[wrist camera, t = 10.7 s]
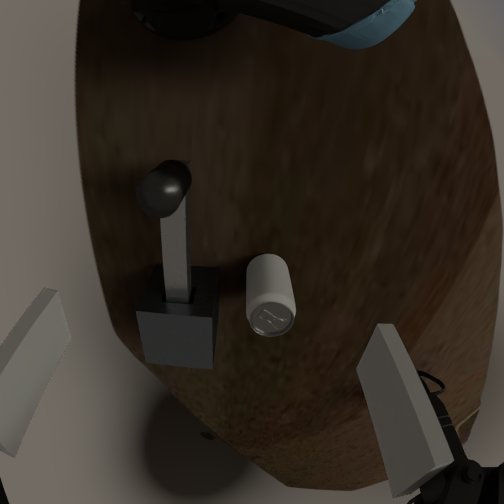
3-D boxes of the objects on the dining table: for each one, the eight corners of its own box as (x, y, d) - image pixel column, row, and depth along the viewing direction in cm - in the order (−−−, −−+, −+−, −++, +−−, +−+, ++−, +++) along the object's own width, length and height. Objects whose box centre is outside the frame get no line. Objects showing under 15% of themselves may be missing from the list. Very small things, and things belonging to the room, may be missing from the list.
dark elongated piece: (159, 154, 35) (134, 173, 27) (196, 154, 35) (180, 174, 27) (170, 326, 47) (158, 369, 39) (197, 328, 47) (190, 372, 40)
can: (270, 293, 52) (276, 345, 41) (238, 274, 50) (235, 325, 39) (296, 266, 49) (308, 315, 39) (262, 244, 47) (267, 291, 37)
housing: (157, 263, 49) (135, 311, 38) (219, 267, 49) (212, 317, 39) (162, 312, 54) (146, 362, 43) (218, 317, 54) (212, 369, 43)
